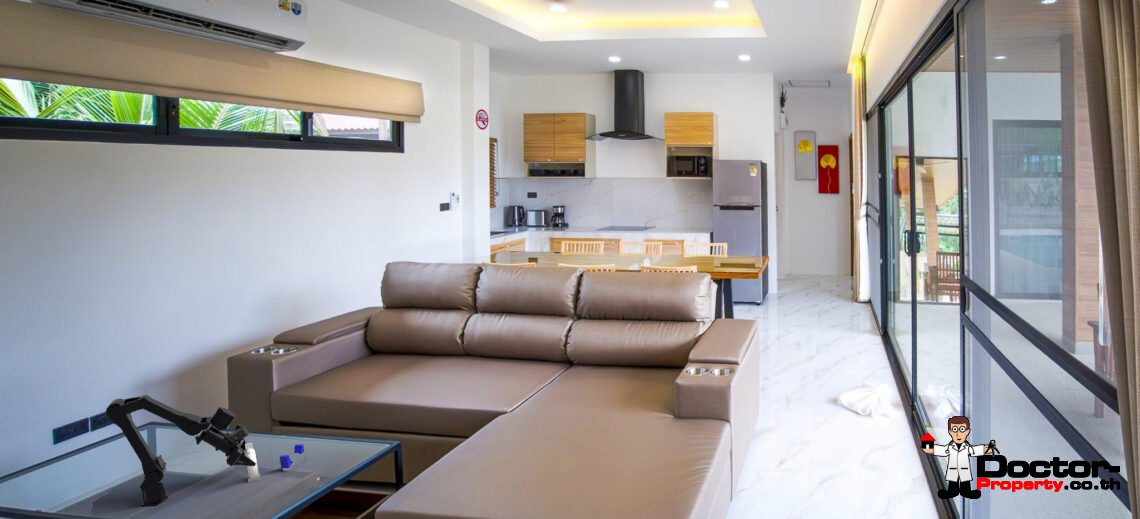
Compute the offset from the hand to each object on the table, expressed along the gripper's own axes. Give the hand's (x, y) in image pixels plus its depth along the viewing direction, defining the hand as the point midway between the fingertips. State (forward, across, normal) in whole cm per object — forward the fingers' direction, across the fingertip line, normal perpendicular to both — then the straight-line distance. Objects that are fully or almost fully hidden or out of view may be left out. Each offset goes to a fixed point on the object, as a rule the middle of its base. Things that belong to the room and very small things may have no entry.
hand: (255, 461), depth 287 cm
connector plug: (+4, 0, +6) cm, 7 cm away
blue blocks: (+13, +6, -3) cm, 15 cm away
